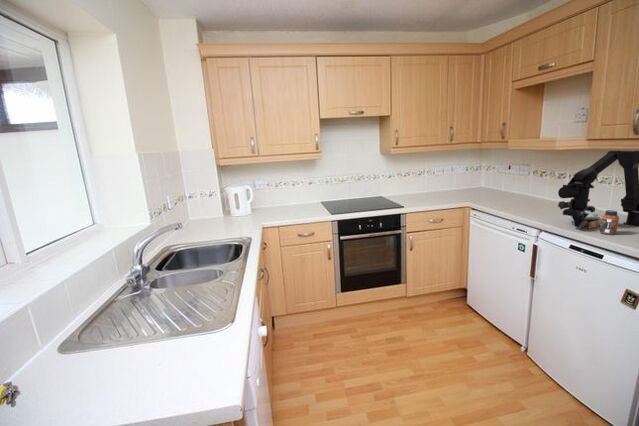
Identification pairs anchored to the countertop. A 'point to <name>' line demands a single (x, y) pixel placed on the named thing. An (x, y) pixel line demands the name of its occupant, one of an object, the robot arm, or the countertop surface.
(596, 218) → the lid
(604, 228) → the supplement bottle
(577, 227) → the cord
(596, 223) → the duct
